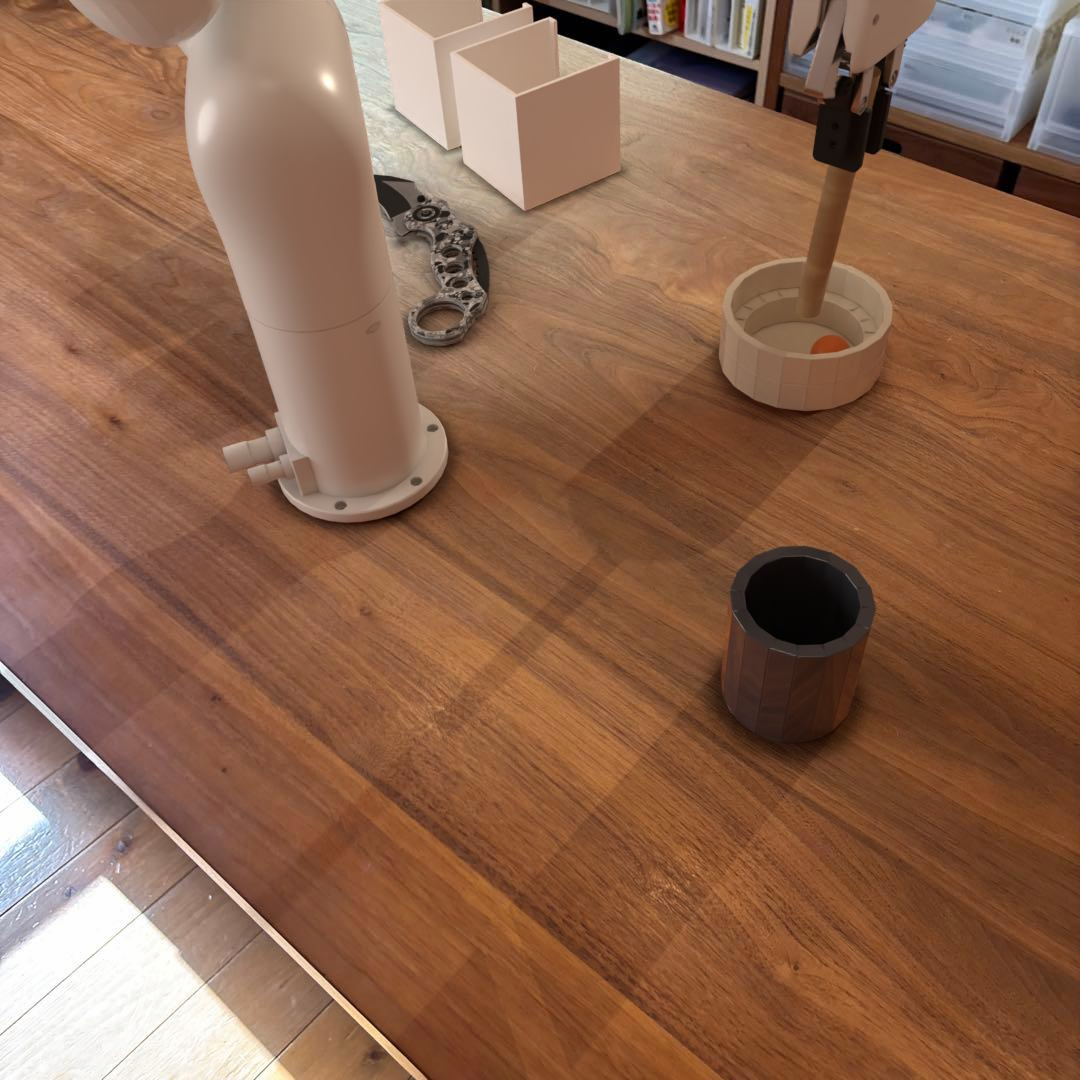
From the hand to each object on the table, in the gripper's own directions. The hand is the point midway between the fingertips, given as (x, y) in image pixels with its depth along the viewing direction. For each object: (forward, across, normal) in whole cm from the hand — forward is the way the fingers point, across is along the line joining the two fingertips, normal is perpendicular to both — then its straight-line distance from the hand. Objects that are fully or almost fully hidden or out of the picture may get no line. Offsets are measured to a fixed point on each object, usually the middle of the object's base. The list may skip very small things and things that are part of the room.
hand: (846, 153), depth 70 cm
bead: (+17, -2, +1) cm, 17 cm away
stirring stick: (+13, 0, -1) cm, 13 cm away
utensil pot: (+19, +25, +13) cm, 34 cm away
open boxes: (+19, -16, -43) cm, 50 cm away
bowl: (+19, -2, -2) cm, 19 cm away
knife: (+20, +3, -37) cm, 42 cm away
